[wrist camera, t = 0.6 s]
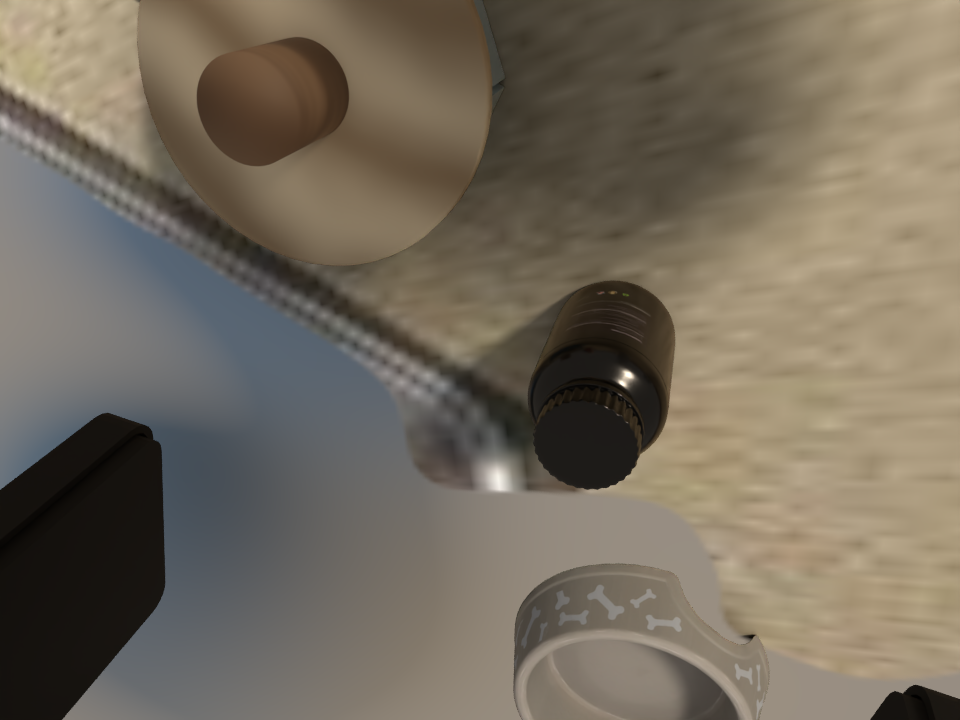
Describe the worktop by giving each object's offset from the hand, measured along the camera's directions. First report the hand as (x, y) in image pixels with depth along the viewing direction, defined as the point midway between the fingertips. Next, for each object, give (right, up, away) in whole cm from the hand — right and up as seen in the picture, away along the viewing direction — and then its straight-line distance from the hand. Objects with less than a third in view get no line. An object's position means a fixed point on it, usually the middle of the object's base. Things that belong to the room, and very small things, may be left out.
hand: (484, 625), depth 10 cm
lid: (-8, +16, +26) cm, 32 cm away
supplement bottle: (+8, +5, +35) cm, 36 cm away
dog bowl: (+11, -18, +47) cm, 52 cm away
